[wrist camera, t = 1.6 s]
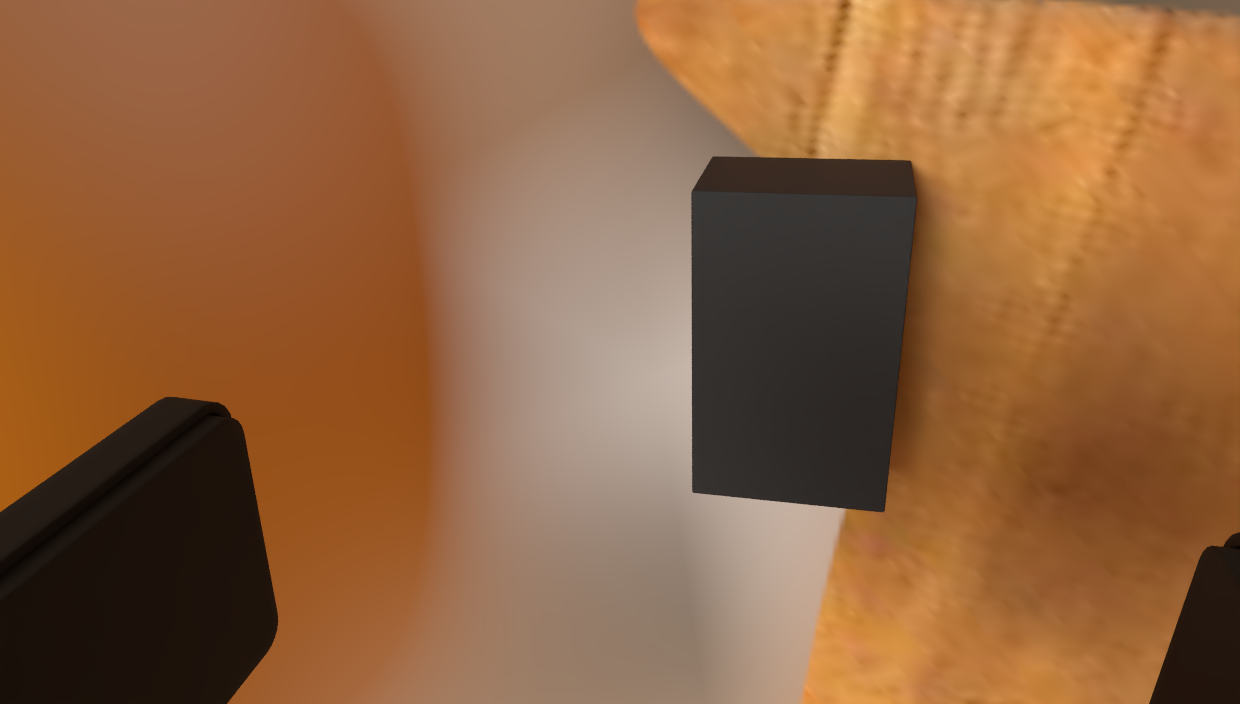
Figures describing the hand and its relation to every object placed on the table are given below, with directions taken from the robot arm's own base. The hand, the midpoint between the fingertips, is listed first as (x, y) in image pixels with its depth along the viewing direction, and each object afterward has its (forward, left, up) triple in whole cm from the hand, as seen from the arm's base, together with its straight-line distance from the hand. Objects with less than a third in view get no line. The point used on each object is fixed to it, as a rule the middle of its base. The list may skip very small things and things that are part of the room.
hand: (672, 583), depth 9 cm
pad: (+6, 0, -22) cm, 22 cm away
